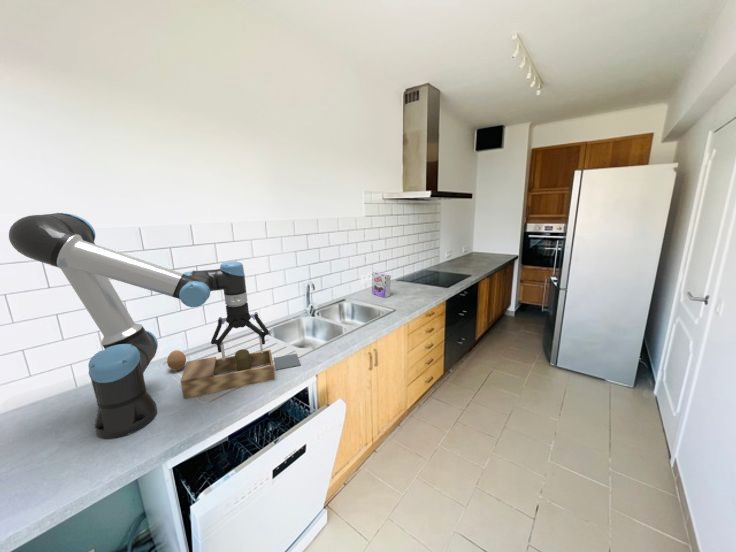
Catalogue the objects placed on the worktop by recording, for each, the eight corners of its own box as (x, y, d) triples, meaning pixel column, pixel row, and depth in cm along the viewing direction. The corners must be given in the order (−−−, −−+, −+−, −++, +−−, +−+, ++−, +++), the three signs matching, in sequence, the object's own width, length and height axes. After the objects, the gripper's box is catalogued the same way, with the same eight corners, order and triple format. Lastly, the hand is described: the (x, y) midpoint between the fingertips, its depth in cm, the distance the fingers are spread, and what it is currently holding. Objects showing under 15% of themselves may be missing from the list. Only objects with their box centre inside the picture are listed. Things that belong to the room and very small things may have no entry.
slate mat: (276, 370, 121) (276, 369, 121) (273, 358, 130) (273, 357, 130) (300, 365, 125) (300, 364, 125) (296, 354, 134) (296, 353, 134)
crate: (183, 398, 104) (180, 380, 102) (189, 377, 116) (186, 361, 114) (274, 379, 115) (273, 363, 114) (271, 362, 127) (270, 347, 126)
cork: (246, 381, 114) (244, 355, 111) (232, 379, 115) (229, 353, 112) (255, 372, 120) (253, 348, 117) (242, 371, 121) (239, 346, 118)
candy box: (371, 293, 222) (371, 272, 218) (377, 292, 226) (377, 271, 222) (384, 298, 212) (385, 275, 208) (390, 296, 216) (391, 274, 212)
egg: (189, 363, 126) (186, 346, 124) (185, 372, 120) (182, 353, 118) (171, 366, 124) (168, 348, 122) (166, 374, 118) (163, 356, 116)
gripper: (197, 312, 102) (206, 367, 107) (272, 302, 111) (277, 353, 117) (199, 305, 109) (208, 357, 114) (271, 296, 118) (275, 344, 123)
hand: (243, 355), depth 115 cm, fingers open, 13 cm apart
